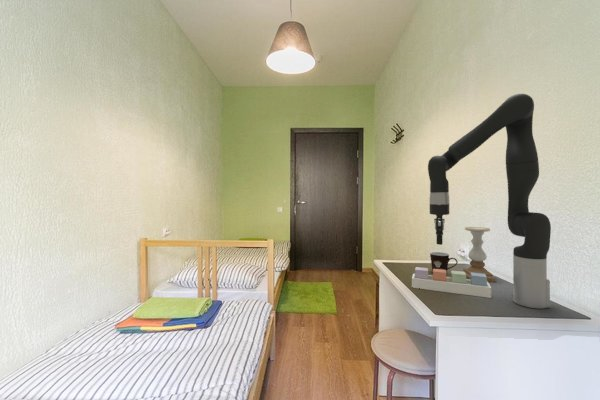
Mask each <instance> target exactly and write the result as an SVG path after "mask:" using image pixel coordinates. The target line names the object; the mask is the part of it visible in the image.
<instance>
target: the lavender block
mask: <svg viewBox="0 0 600 400" xmlns="http://www.w3.org/2000/svg"><path fill="white" fill-rule="evenodd" d="M414 274H415V278H418V279H426V280H428V275H429V268H428V267H419V266H416V267H415V269H414Z"/></svg>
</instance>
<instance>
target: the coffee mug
mask: <svg viewBox="0 0 600 400" xmlns="http://www.w3.org/2000/svg"><path fill="white" fill-rule="evenodd" d="M429 255H430V262H431V270H432V271H431V272H432V273H433V269H441V270H446V276H447V275H448V270H450V269H452V268H454V267H455V266H456V267H457V265H458V259H457V258H455V257H450V254H449V253H447V252H441V251H434V252H433V251H431V252H430V254H429ZM449 257H450V258H449ZM450 260H455V262H456V263H455V264H454V265H451V266H450V267H449V262H450Z"/></svg>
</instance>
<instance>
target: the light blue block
mask: <svg viewBox="0 0 600 400" xmlns="http://www.w3.org/2000/svg"><path fill="white" fill-rule="evenodd" d="M471 285H478V286H486V287H487V276H486V275H485V274H481V273H471Z"/></svg>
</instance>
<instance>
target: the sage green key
mask: <svg viewBox="0 0 600 400" xmlns="http://www.w3.org/2000/svg"><path fill="white" fill-rule="evenodd" d="M450 271H451V272H450V273H451V275H450V278H451V282H452V283H461V284H466V273H465V272H461V271H462V270H460V271H459V270H450Z"/></svg>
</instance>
